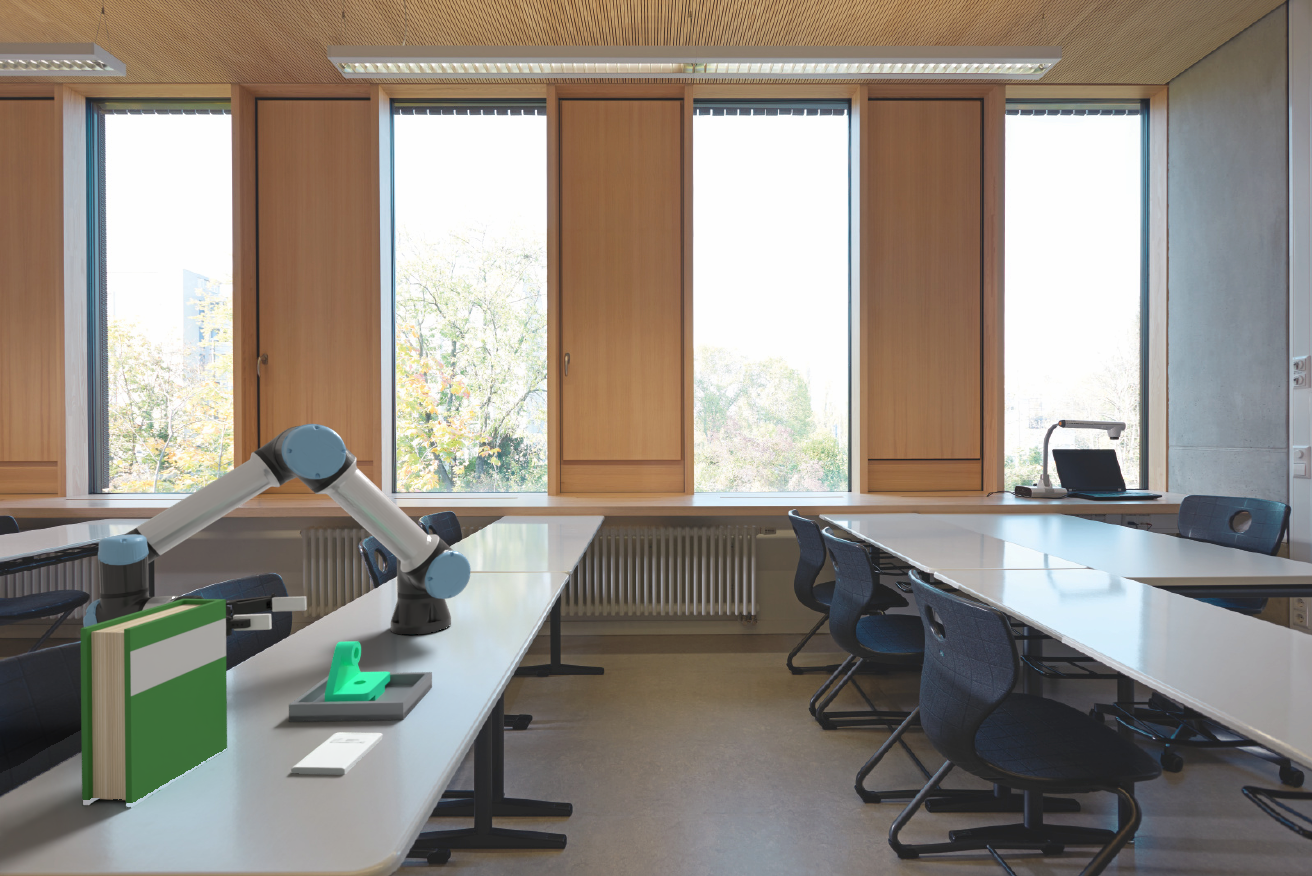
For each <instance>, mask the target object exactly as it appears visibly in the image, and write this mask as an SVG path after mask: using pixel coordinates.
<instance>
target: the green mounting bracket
mask: <svg viewBox="0 0 1312 876" xmlns="http://www.w3.org/2000/svg"><path fill="white" fill-rule="evenodd" d="M361 655H362V644H361V643H360V641H355V640H354V641H350V640H348V641H338V642H337V643H336V645H335V647H334V651H333V655H332V659H331V660H332V661H331V663H330V670H329V673H328V676H329V677H328V681H327V686H326V690H325V702H345V701H376V700H377V699H378V698H379V697H380V696H381V695H382V694H383V693H384V692H385V685H386V684H387V683H388V682H389V681H390V673H391V672H390V671H361V669H360V667H359V662H360V660H361Z"/></svg>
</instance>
